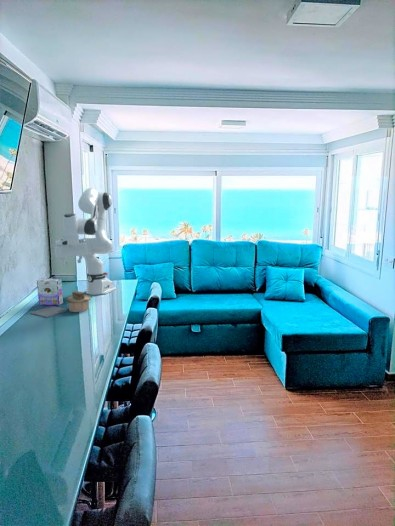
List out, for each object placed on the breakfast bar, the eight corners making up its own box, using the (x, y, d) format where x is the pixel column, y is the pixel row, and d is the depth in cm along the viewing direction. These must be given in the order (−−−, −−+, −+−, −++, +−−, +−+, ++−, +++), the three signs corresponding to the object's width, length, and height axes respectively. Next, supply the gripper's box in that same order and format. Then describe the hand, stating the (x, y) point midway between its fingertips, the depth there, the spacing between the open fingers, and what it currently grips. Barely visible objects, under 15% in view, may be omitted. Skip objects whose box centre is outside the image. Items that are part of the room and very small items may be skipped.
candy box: (63, 303, 238) (61, 278, 235) (59, 305, 232) (57, 280, 229) (43, 302, 239) (41, 277, 236) (38, 305, 234) (36, 280, 230)
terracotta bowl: (79, 305, 234) (79, 296, 233) (92, 308, 228) (91, 298, 227) (65, 310, 224) (65, 300, 223) (78, 313, 219) (78, 303, 218)
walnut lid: (79, 295, 235) (78, 288, 234) (95, 298, 228) (95, 291, 227) (61, 300, 223) (61, 293, 222) (78, 304, 216) (77, 296, 215)
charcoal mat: (51, 306, 231) (51, 305, 230) (68, 310, 223) (68, 309, 223) (30, 313, 218) (30, 312, 218) (47, 317, 211) (47, 316, 210)
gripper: (83, 239, 230) (84, 261, 232) (52, 241, 215) (53, 265, 217) (89, 240, 226) (90, 262, 228) (58, 242, 211) (59, 266, 213)
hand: (72, 263), depth 223 cm, fingers open, 8 cm apart
